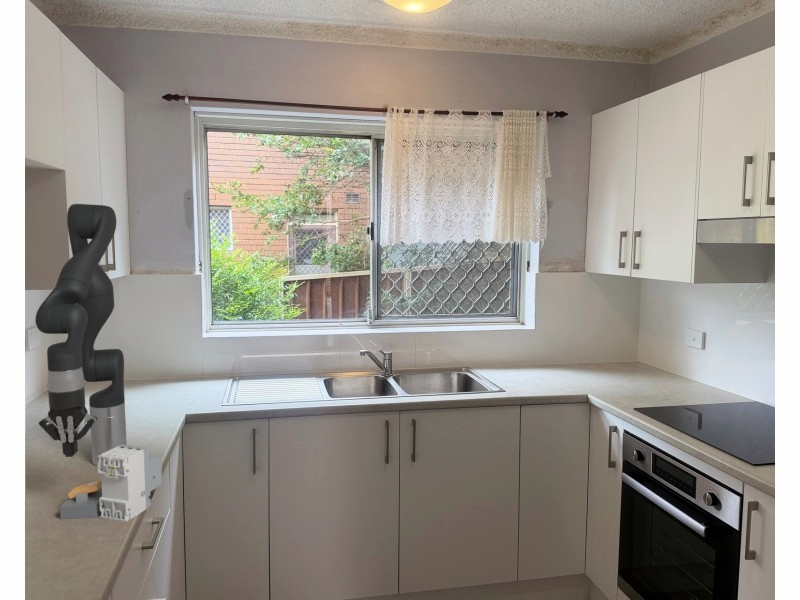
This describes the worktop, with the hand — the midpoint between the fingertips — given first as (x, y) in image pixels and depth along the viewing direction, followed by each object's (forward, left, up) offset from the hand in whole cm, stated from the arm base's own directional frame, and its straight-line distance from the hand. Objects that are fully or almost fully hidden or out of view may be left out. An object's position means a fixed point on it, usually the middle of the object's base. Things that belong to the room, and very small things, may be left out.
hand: (70, 455), depth 139 cm
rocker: (+2, +4, -9) cm, 10 cm away
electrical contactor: (+2, +15, -13) cm, 20 cm away
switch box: (+2, +4, -13) cm, 13 cm away
